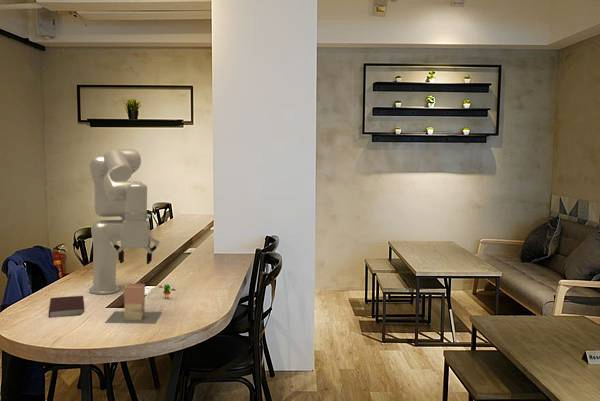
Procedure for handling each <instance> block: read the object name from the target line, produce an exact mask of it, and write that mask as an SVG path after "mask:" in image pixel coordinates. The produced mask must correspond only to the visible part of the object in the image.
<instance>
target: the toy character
mask: <svg viewBox="0 0 600 401" xmlns="http://www.w3.org/2000/svg"><path fill="white" fill-rule="evenodd" d="M158 288H159V289H161V288H162V289H163V295H164V298H166V299H168V298H169V295H171V291H174V292H175V291H176V289H175V288H171V286H170V285H169V284H167V283H166V284H164V286H162V285H159V286H158ZM169 299H170V298H169Z"/></svg>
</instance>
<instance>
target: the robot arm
mask: <svg viewBox="0 0 600 401" xmlns="http://www.w3.org/2000/svg"><path fill="white" fill-rule="evenodd" d="M141 159H142V158H141V154H140V153H139V152H138V150H136V149H132V148H131V149H129V148H111V149H108V150H107V151H105V153H104V155H98V156H93V157H92V158H91V159H90V162H89V171H90V175H91V178H92V180H93V184H94V212H95V214H96V216H98V217H100V218H101V217H103V218H115V217H118V218H120V219H101V220H97V221H95V222H93V223H92V224H91V228H90V230H91V231H90V232H91V233H90V234H91V238H92V240H91V241H92V248H93V249H92V254H93V256H92V257H93V259H92V260H93V262H92V263H93V264H92V265H93V266H92V286H91V287H90V288H89V289H88V291H89V293H91V294H94V295H108V294H109V295H110V294H115V293H118V292H120V287H119V286H118V285H117V280H116V279H117V253H118V262H119V264H123V263H124V262H125V251H124V249H125V248H127V249H145V251H146V252H147V253H146V264H147V265H149V264H150V263H151V262H152V261H153V252H155V250H157V248H158V246H159V244H161V241H160V240H158V239H157V238H154V237H153V236H152V235H151V226H150V225H151V224H150V221H149V220H148V219H151V217H152V216H151V214H149V213H148V186H147V185H146V184H144V183H143V182H141V181H138V180H137V181H133V180H132V181H131V180H130V181H129V179H131V177H132V175H133V174H134V173H136V172H137V171H138V170H139V169H140V167H141V164H142V160H141ZM117 242H120V245H119V244H118V243H117ZM151 242H152V243H153V244H154V245H153V246H152V247H151Z"/></svg>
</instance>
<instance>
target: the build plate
mask: <svg viewBox="0 0 600 401" xmlns="http://www.w3.org/2000/svg"><path fill="white" fill-rule="evenodd" d="M162 313H163V312H162V311H145V312H144V316H143V318H142V319H141V320H124V310H123V311H120V310H118V311H117V310H116V311H114V312H113V313H112V314H111V315H110V316H109V317H108V318H107V320H106V321H105V322H104V324H141V325H142V324H143V325H144V324H147V325H149V324H154V325H155V324H156V323H157V322H158V320H159V319H160V317H161V315H162Z"/></svg>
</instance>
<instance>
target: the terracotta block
mask: <svg viewBox="0 0 600 401" xmlns="http://www.w3.org/2000/svg"><path fill="white" fill-rule="evenodd" d="M145 289H146V283H128V284H126V285H125V286H124V290H123V292H124V298H123V299H124V300H123V301H124V302H123V304H124V305H125V304H141V303H142V302H143V301H144V300H145V297H146V296H145V293H146V292H145ZM145 301H146V300H145Z"/></svg>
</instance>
